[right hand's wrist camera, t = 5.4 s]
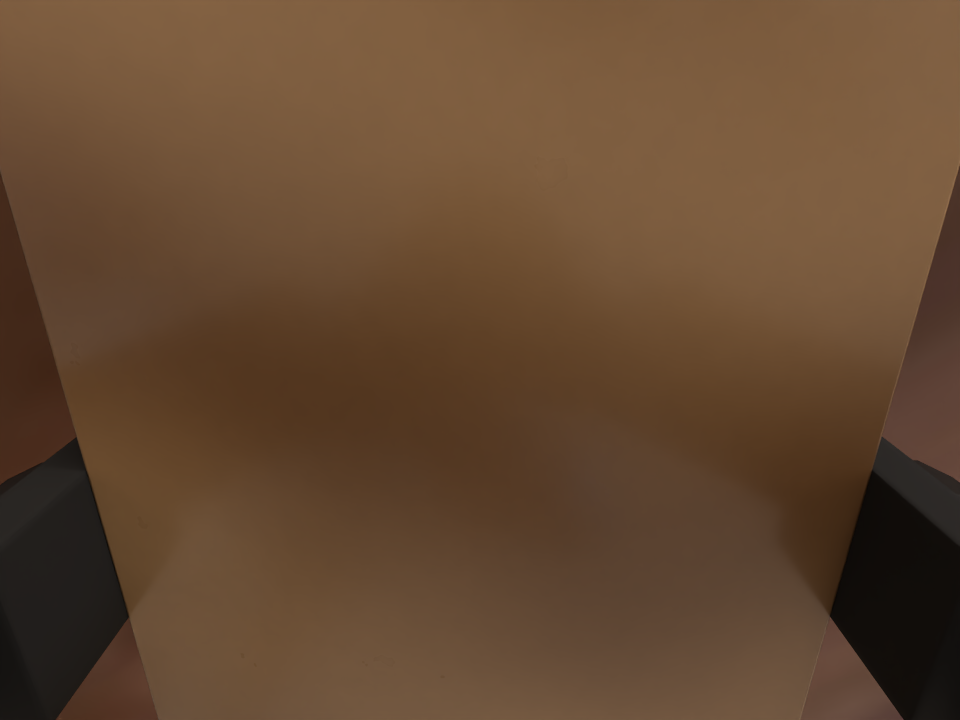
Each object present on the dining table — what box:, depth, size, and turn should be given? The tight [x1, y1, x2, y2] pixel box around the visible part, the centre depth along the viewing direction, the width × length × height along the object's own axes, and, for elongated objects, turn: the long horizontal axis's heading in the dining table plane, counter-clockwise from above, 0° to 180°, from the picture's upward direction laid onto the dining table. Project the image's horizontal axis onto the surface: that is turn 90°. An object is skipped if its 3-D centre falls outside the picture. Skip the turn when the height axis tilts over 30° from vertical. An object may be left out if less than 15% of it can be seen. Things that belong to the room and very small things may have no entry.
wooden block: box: [0, 0, 960, 720], centre depth 13 cm, size 13×11×10 cm
